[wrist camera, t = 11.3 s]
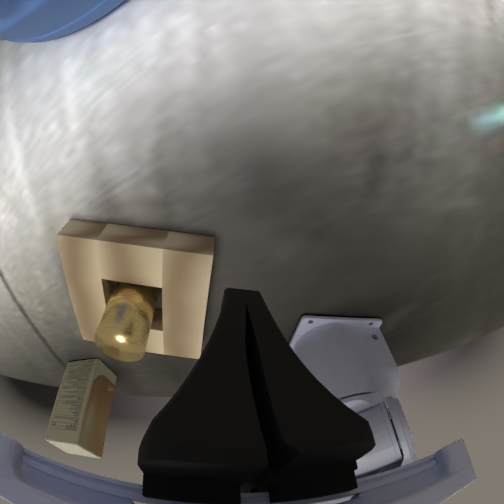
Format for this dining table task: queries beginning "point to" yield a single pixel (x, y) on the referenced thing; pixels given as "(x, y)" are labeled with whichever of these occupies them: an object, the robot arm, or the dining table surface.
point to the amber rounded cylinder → (127, 321)
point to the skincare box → (82, 408)
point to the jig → (140, 278)
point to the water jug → (49, 17)
